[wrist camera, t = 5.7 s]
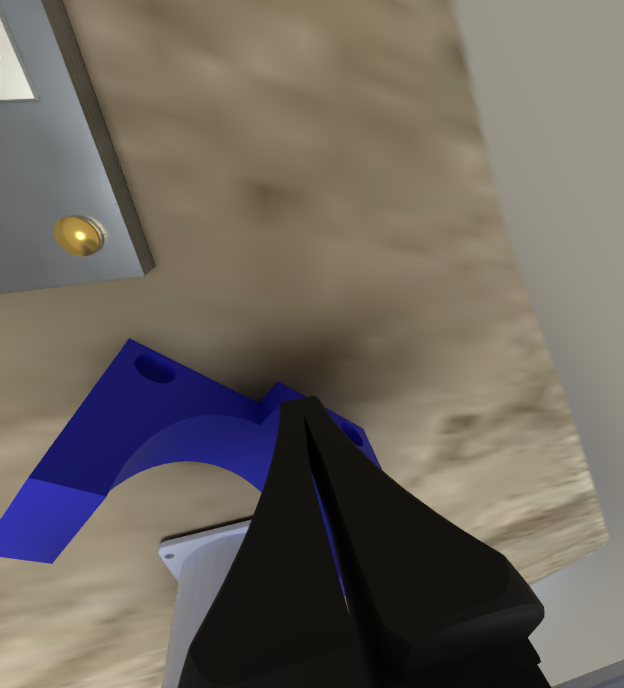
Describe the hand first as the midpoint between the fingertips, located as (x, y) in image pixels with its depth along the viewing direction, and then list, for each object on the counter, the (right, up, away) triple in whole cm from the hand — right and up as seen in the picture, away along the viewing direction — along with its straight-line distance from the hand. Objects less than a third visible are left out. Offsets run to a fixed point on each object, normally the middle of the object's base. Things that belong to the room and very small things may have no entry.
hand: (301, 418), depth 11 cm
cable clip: (-3, 0, +3) cm, 4 cm away
